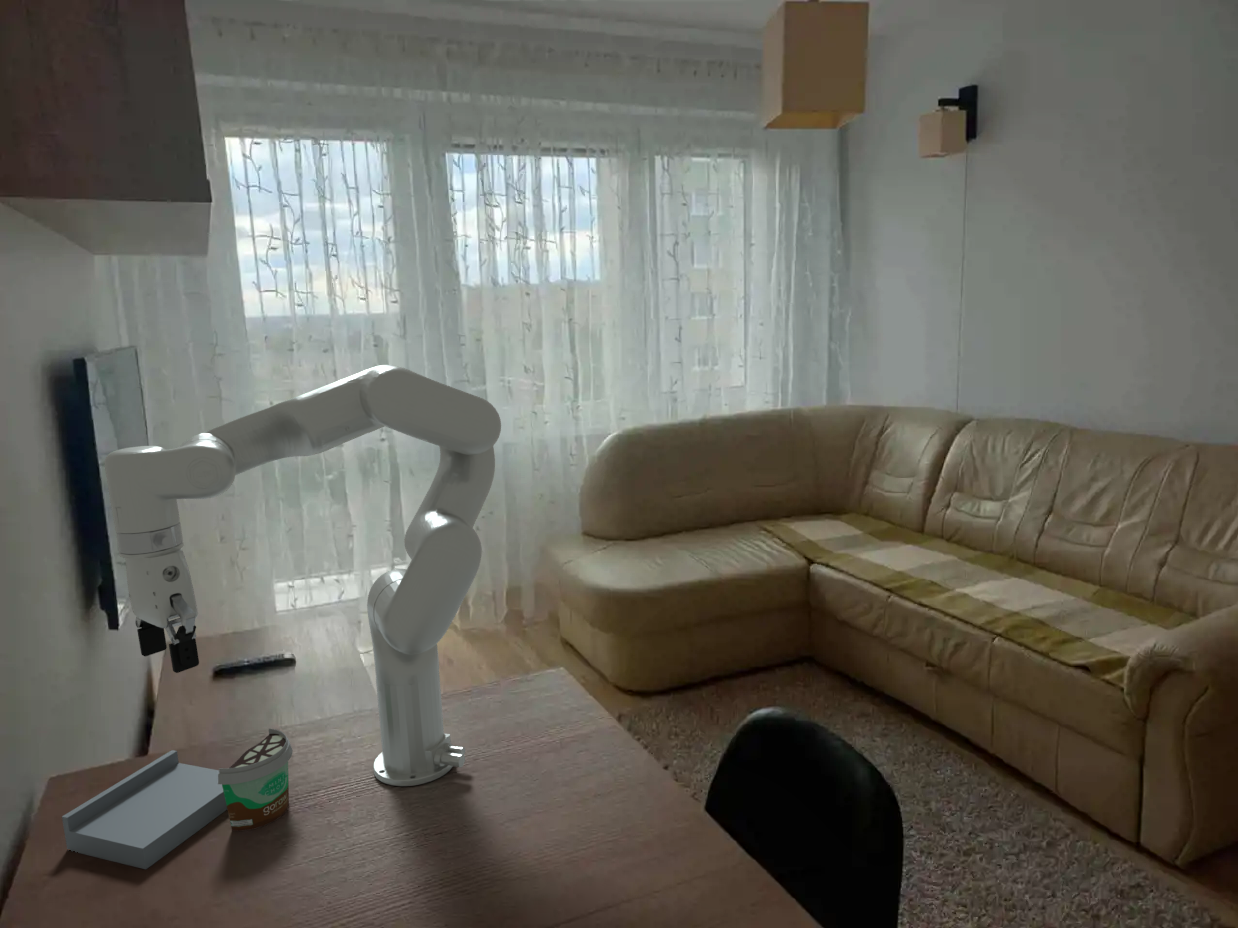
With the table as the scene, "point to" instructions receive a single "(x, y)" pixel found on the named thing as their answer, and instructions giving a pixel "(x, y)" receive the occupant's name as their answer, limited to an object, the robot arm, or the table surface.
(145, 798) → the stand
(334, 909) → the table surface
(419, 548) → the robot arm
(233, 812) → the food container
